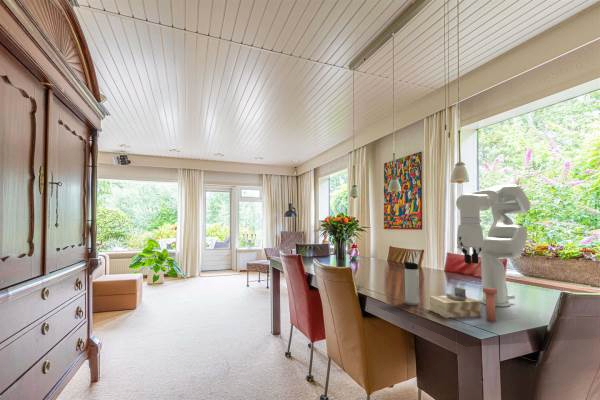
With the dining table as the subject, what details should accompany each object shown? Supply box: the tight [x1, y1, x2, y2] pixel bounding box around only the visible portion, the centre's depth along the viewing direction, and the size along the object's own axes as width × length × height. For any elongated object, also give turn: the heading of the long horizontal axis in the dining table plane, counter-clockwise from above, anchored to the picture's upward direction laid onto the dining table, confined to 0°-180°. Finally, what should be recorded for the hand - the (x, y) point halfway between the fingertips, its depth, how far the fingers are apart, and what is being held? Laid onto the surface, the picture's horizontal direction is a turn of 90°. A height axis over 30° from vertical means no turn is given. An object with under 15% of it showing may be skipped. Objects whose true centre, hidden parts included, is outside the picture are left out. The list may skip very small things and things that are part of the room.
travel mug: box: [403, 261, 420, 306], centre depth 143 cm, size 6×7×20 cm
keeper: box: [445, 286, 468, 300], centre depth 129 cm, size 5×6×4 cm
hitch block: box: [429, 295, 482, 319], centre depth 128 cm, size 16×11×6 cm
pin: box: [482, 287, 497, 323], centre depth 119 cm, size 5×5×12 cm
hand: (471, 263), depth 131 cm, fingers open, 2 cm apart
